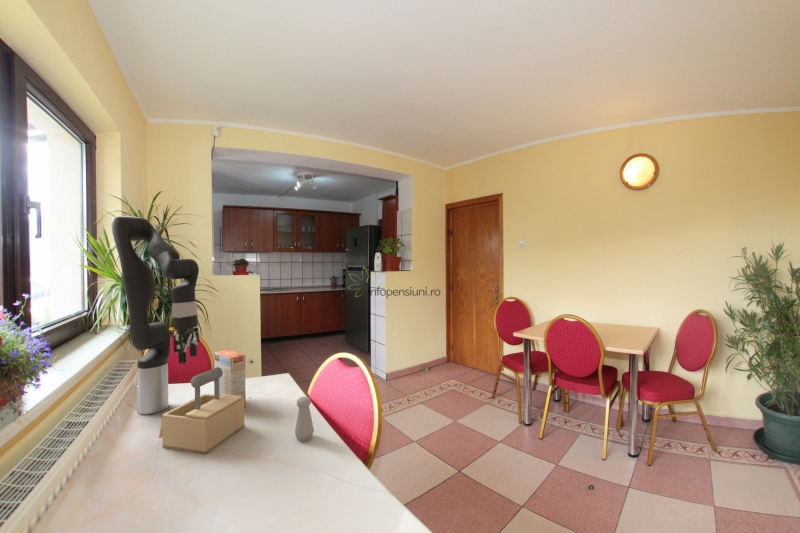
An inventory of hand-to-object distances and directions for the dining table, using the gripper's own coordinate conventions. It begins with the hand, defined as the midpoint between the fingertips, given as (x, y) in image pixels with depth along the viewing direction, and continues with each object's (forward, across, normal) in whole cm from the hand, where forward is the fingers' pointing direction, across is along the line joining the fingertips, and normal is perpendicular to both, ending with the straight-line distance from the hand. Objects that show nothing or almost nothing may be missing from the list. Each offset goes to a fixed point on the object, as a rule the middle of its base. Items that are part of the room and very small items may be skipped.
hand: (188, 359), depth 115 cm
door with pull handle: (+12, +15, +13) cm, 23 cm away
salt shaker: (+24, +21, +41) cm, 52 cm away
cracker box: (+22, -9, +10) cm, 26 cm away
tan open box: (+22, +13, +8) cm, 27 cm away
